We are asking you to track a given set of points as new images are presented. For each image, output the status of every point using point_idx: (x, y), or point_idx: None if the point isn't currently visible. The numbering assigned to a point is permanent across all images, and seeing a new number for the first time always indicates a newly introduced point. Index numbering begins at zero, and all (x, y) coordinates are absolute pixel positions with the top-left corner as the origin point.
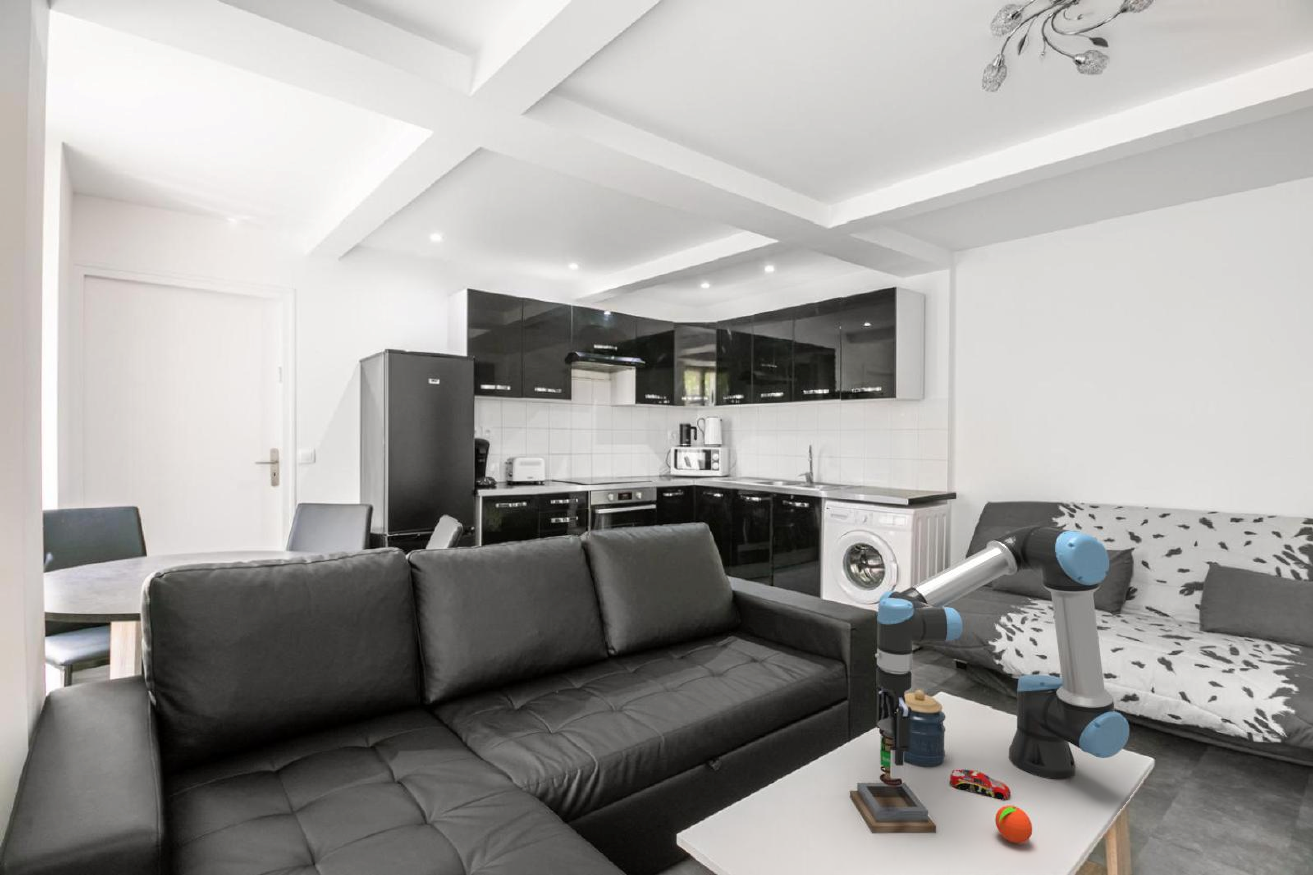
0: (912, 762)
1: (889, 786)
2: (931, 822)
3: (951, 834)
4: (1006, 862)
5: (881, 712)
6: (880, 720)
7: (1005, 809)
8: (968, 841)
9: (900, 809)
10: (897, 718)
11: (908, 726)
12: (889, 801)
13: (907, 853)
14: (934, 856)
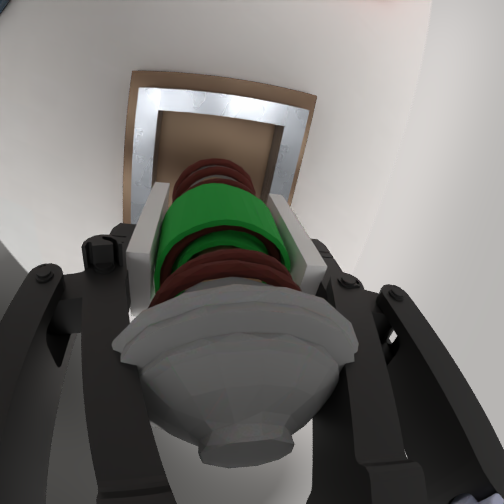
0: (2, 7)
1: (154, 151)
2: (301, 97)
3: (324, 62)
4: (421, 38)
5: (47, 412)
6: (151, 424)
7: None
8: (355, 46)
9: (284, 186)
10: (426, 486)
11: (473, 412)
12: (182, 155)
13: (351, 206)
14: (375, 159)
